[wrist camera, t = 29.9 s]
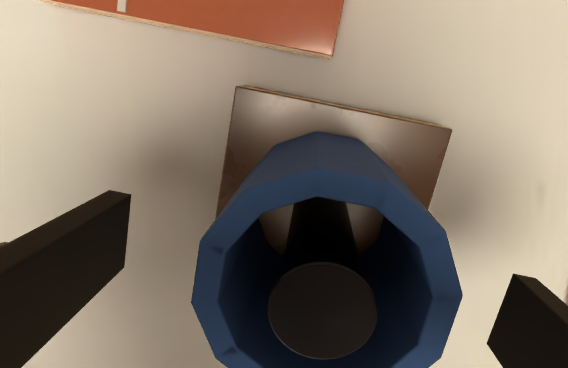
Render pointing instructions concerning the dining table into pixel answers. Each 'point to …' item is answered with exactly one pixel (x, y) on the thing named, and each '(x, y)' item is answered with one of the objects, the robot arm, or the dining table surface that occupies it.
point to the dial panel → (234, 20)
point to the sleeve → (374, 261)
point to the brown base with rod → (325, 214)
